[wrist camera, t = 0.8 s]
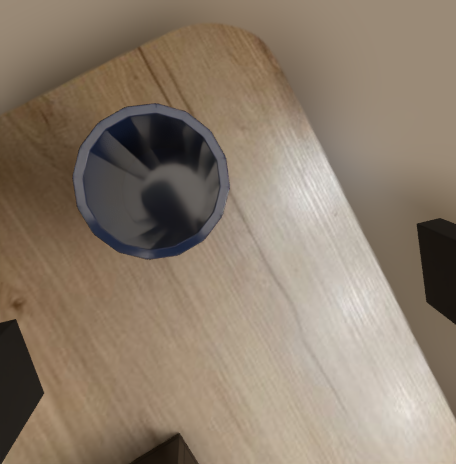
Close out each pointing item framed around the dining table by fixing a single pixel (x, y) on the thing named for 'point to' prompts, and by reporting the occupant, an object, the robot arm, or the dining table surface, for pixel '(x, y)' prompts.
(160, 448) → the tray
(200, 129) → the cup
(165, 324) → the dining table surface
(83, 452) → the dining table surface
